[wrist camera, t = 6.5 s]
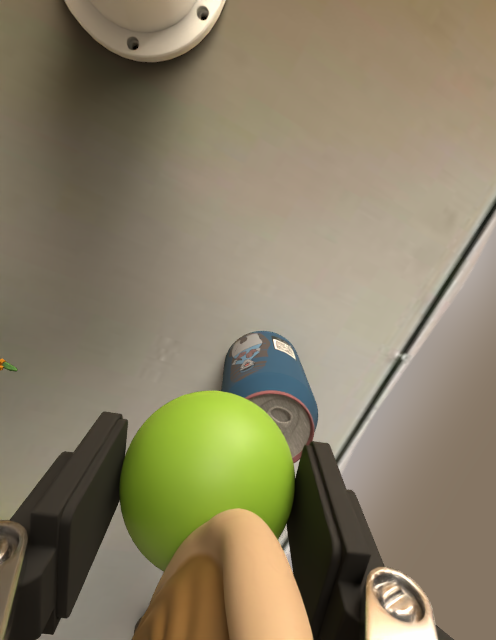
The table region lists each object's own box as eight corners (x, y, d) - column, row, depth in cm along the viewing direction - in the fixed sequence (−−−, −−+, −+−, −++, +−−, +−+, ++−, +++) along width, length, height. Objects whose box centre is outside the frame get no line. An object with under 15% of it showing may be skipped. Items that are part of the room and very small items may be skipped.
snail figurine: (326, 388, 14) (760, 1284, 2) (238, 506, 15) (225, 1418, 4) (202, 316, 13) (-135, 1161, 1) (122, 449, 14) (-371, 1398, 3)
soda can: (272, 405, 36) (287, 493, 25) (212, 372, 35) (197, 449, 24) (310, 348, 35) (345, 415, 23) (248, 313, 34) (251, 364, 22)
